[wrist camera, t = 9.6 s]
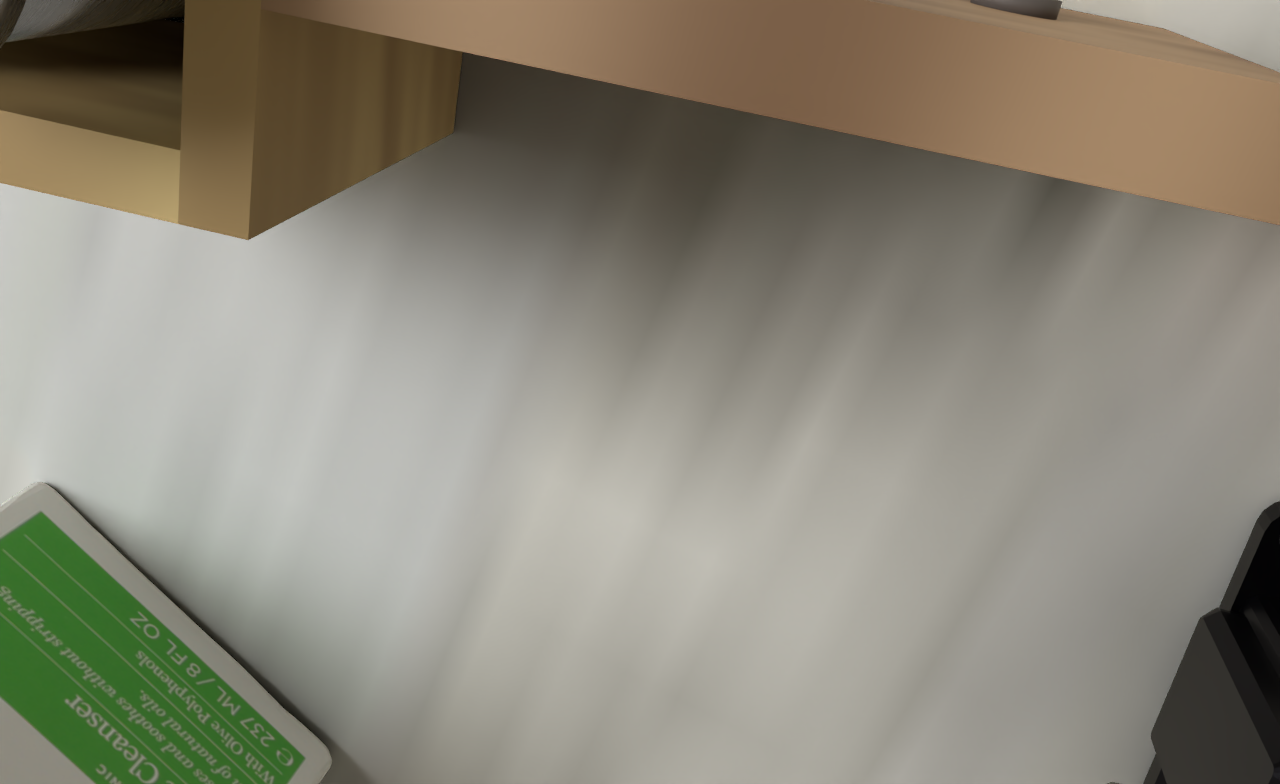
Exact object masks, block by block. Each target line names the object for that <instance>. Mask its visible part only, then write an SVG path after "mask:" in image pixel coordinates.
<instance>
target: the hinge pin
mask: <svg viewBox="0 0 1280 784" xmlns="http://www.w3.org/2000/svg"><path fill="white" fill-rule="evenodd" d="M182 16H185V0H0V50H1V48H2V47H3V45H4V44H5V42H12V41H19V40H26V39H32V38H39V37H46V36H53V35H60V34H66V33H73V32H80V31H87V30H94V29H100V28H107V27H114V26H121V25H128V24H134V23H141V22H148V21H155V20H162V19H168V18H175V17H182Z"/></svg>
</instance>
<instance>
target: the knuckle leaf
mask: <svg viewBox="0 0 1280 784" xmlns="http://www.w3.org/2000/svg"><path fill="white" fill-rule="evenodd" d="M1061 4H1062V1H1058V0H185V17H184V23H179V22H175V21H170V20H165V19H162V20H155V21H148V22H141V23H134V24H128V25H121V26H114V27H107V28H100V29H94V30H87V31H80V32H73V33H66V34H60V35H53V36H46V37H39V38H32V39H26V40H19V41H12V42H5V44H4V45H3V47H2V48H1V50H0V183H3V184H8V185H12V186H16V187H21V188H25V189H29V190H34V191H38V192H42V193H47V194H51V195H55V196H60V197H64V198H68V199H73V200H77V201H81V202H86V203H90V204H94V205H99V206H103V207H107V208H112V209H116V210H120V211H125V212H129V213H133V214H138V215H142V216H146V217H151V218H155V219H159V220H164V221H168V222H172V223H177V224H181V225H185V226H190V227H194V228H198V229H203V230H207V231H211V232H216V233H220V234H224V235H229V236H233V237H237V238H242V239H246V240H249V239H251V238H253V237H255V236H257V235H259V234H261V233H262V232H264V231H266V230H268V229H270V228H272V227H274V226H276V225H278V224H280V223H282V222H284V221H285V220H287V219H289V218H291V217H293V216H295V215H297V214H299V213H301V212H303V211H305V210H307V209H308V208H310V207H312V206H314V205H316V204H318V203H320V202H322V201H324V200H326V199H328V198H330V197H331V196H333V195H335V194H337V193H339V192H341V191H343V190H345V189H347V188H349V187H351V186H353V185H354V184H356V183H358V182H360V181H362V180H364V179H366V178H368V177H370V176H372V175H374V174H376V173H377V172H379V171H381V170H383V169H385V168H387V167H389V166H391V165H393V164H395V163H397V162H398V161H400V160H402V159H404V158H406V157H408V156H410V155H412V154H414V153H416V152H418V151H420V150H421V149H423V148H425V147H427V146H429V145H431V144H433V143H435V142H437V141H439V140H441V139H443V138H444V137H446V136H448V135H450V134H452V133H453V131H454V122H455V114H456V105H457V97H458V89H459V80H460V72H461V63H462V55H463V52H466V53H471V54H475V55H480V56H485V57H490V58H494V59H499V60H504V61H508V62H513V63H518V64H523V65H527V66H532V67H537V68H541V69H546V70H551V71H556V72H560V73H565V74H570V75H574V76H579V77H584V78H589V79H593V80H598V81H603V82H607V83H612V84H617V85H622V86H626V87H631V88H636V89H640V90H645V91H650V92H655V93H659V94H664V95H669V96H673V97H678V98H683V99H688V100H692V101H697V102H702V103H706V104H711V105H716V106H721V107H725V108H730V109H735V110H739V111H744V112H749V113H754V114H758V115H763V116H768V117H772V118H777V119H782V120H787V121H791V122H796V123H801V124H805V125H810V126H815V127H820V128H824V129H829V130H834V131H838V132H843V133H848V134H853V135H857V136H862V137H867V138H871V139H876V140H881V141H886V142H890V143H895V144H900V145H904V146H909V147H914V148H919V149H923V150H928V151H933V152H937V153H942V154H947V155H952V156H956V157H961V158H966V159H970V160H975V161H980V162H985V163H989V164H994V165H999V166H1003V167H1008V168H1013V169H1017V170H1022V171H1027V172H1032V173H1036V174H1041V175H1046V176H1050V177H1055V178H1060V179H1065V180H1069V181H1074V182H1079V183H1083V184H1088V185H1093V186H1098V187H1102V188H1107V189H1112V190H1116V191H1121V192H1126V193H1131V194H1135V195H1140V196H1145V197H1149V198H1154V199H1159V200H1164V201H1168V202H1173V203H1178V204H1182V205H1187V206H1192V207H1197V208H1201V209H1206V210H1211V211H1215V212H1220V213H1225V214H1230V215H1234V216H1239V217H1244V218H1248V219H1253V220H1258V221H1263V222H1267V223H1272V224H1277V225H1280V73H1279V72H1277V71H1274V70H1271V69H1269V68H1266V67H1263V66H1261V65H1258V64H1256V63H1253V62H1250V61H1248V60H1245V59H1242V58H1240V57H1237V56H1234V55H1232V54H1229V53H1227V52H1224V51H1221V50H1219V49H1216V48H1213V47H1211V46H1208V45H1205V44H1203V43H1200V42H1197V41H1195V40H1192V39H1190V38H1187V37H1184V36H1182V35H1179V34H1176V33H1174V32H1171V31H1168V30H1166V29H1163V28H1158V27H1153V26H1148V25H1143V24H1138V23H1133V22H1128V21H1123V20H1118V19H1113V18H1108V17H1103V16H1098V15H1093V14H1088V13H1083V12H1078V11H1073V10H1068V9H1063V8H1060V7H1061Z"/></svg>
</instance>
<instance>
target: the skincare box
mask: <svg viewBox="0 0 1280 784" xmlns="http://www.w3.org/2000/svg"><path fill="white" fill-rule="evenodd" d="M331 763H332V759H331V755H330V753H329V750H328V748H327V747H326V746H325V745H324V744H323V743H322V742H321V741H320V740H319V739H318V738H317V737H316V736H315V735H314V734H313V733H312V732H311V731H310V730H309V729H307V728H306V727H305V726H304V725H303V724H302V723H301V722H300V721H298V720H297V719H296V718H295V717H293V716H292V715H291V714H290V713H289V712H287V711H286V710H285V709H284V708H283V707H282V706H281V705H280V704H279V703H278V702H277V701H276V700H275V699H274V698H273V697H272V696H271V695H270V694H269V693H268V692H267V691H266V690H265V689H264V688H263V687H262V686H261V685H260V684H259V683H258V682H257V681H256V680H255V679H254V678H253V677H252V676H251V675H250V674H249V673H248V672H247V671H246V670H245V669H244V668H243V667H242V666H241V665H240V664H239V663H238V662H237V661H236V660H235V659H233V658H232V657H231V656H230V655H229V654H228V653H227V652H226V651H225V650H224V649H223V648H222V647H221V646H219V645H218V644H217V643H216V642H215V641H214V640H213V639H212V638H210V637H209V636H208V635H207V634H206V633H205V632H204V631H203V630H202V629H201V628H200V627H199V626H198V625H197V624H195V623H194V622H193V621H192V620H191V619H190V618H189V617H188V616H187V615H186V614H185V613H184V612H183V611H182V610H181V609H180V608H178V607H177V606H176V605H175V604H174V603H173V602H172V601H171V600H170V599H169V598H168V597H167V596H166V595H165V594H163V593H162V592H161V591H160V590H159V589H158V588H157V587H156V586H155V585H154V584H153V583H152V582H151V581H150V580H148V579H147V578H146V577H145V576H144V575H143V574H142V573H141V572H140V571H139V570H138V569H137V568H136V567H135V566H134V565H133V564H131V563H130V562H129V561H128V560H127V559H126V558H125V557H124V556H123V555H122V554H121V553H120V552H119V551H118V550H117V549H116V548H115V547H114V546H113V545H112V544H111V543H109V542H108V541H107V540H106V539H105V538H104V537H103V536H102V535H101V534H100V533H99V532H98V531H97V530H95V529H94V528H93V527H92V526H91V525H90V524H89V523H88V522H87V521H86V520H85V519H84V518H83V517H82V516H81V515H80V514H79V513H78V512H77V511H76V510H75V509H74V508H73V507H72V506H71V505H70V504H69V503H68V502H67V501H66V500H65V499H64V498H63V497H62V496H61V495H60V494H59V493H58V492H57V491H56V490H54V489H53V488H52V487H50V486H49V485H47V484H45V483H43V482H37V483H33V484H31V485H29V486H27V487H26V488H24V489H23V490H21V491H20V492H18V493H17V494H15V495H14V496H12V497H11V498H10V499H8V500H7V501H5V502H4V503H2V504H1V505H0V784H319V783H320V782H321V780H322V779H323V777H324V776H325V774H326V773H327V771H328V770H329V769H330V767H331Z"/></svg>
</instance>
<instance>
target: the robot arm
mask: <svg viewBox="0 0 1280 784" xmlns="http://www.w3.org/2000/svg"><path fill="white" fill-rule="evenodd" d="M1151 739H1152V742H1153V745H1154V748H1155V751H1156V755H1155V758H1154V760H1153V762H1152V765H1151V767H1150V769H1149V772H1148V774H1147V776H1146V779H1145V781H1144V783H1143V784H1280V502H1276V503H1274V504H1272V505H1271V506H1269V507H1268V508H1267V509H1265V510H1264V511H1263V512H1262V514H1261V515H1260V517H1259V518H1258V519H1257V521H1256V523H1255V526H1254V528H1253V530H1252V533H1251V535H1250V537H1249V540H1248V542H1247V544H1246V547H1245V549H1244V551H1243V554H1242V556H1241V558H1240V561H1239V563H1238V565H1237V568H1236V570H1235V572H1234V574H1233V577H1232V579H1231V581H1230V584H1229V586H1228V588H1227V591H1226V593H1225V595H1224V598H1223V600H1222V602H1221V605H1220V607H1219V608H1216V609H1214V610H1212V611H1210V612H1209V613H1207V614H1206V615H1204V616H1203V617H1201V618H1200V619H1199V622H1198V624H1197V626H1196V629H1195V631H1194V633H1193V636H1192V638H1191V640H1190V643H1189V645H1188V647H1187V650H1186V652H1185V654H1184V657H1183V659H1182V661H1181V664H1180V666H1179V669H1178V671H1177V673H1176V676H1175V678H1174V680H1173V683H1172V685H1171V687H1170V690H1169V692H1168V694H1167V697H1166V699H1165V701H1164V704H1163V706H1162V708H1161V711H1160V713H1159V716H1158V718H1157V720H1156V723H1155V725H1154V727H1153V730H1152V733H1151ZM1107 784H1119V783H1115V782H1110V783H1107Z"/></svg>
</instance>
